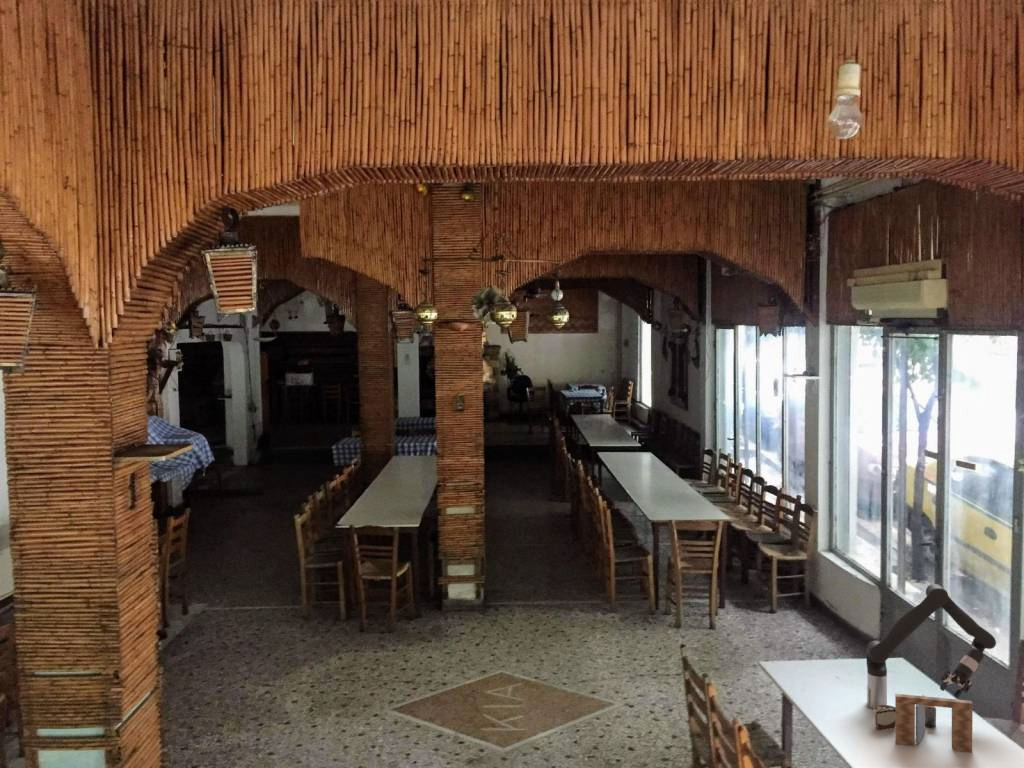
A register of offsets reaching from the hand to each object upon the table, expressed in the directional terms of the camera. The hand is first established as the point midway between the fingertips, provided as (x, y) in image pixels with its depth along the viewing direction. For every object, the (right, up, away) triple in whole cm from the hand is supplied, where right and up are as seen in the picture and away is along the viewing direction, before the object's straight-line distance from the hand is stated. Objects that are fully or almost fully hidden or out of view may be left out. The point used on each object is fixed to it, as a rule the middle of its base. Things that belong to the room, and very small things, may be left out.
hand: (948, 693), depth 418 cm
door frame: (-19, -16, -23) cm, 34 cm away
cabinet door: (-22, -15, -15) cm, 31 cm away
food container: (-34, -16, -3) cm, 37 cm away
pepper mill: (-10, -15, -3) cm, 18 cm away
